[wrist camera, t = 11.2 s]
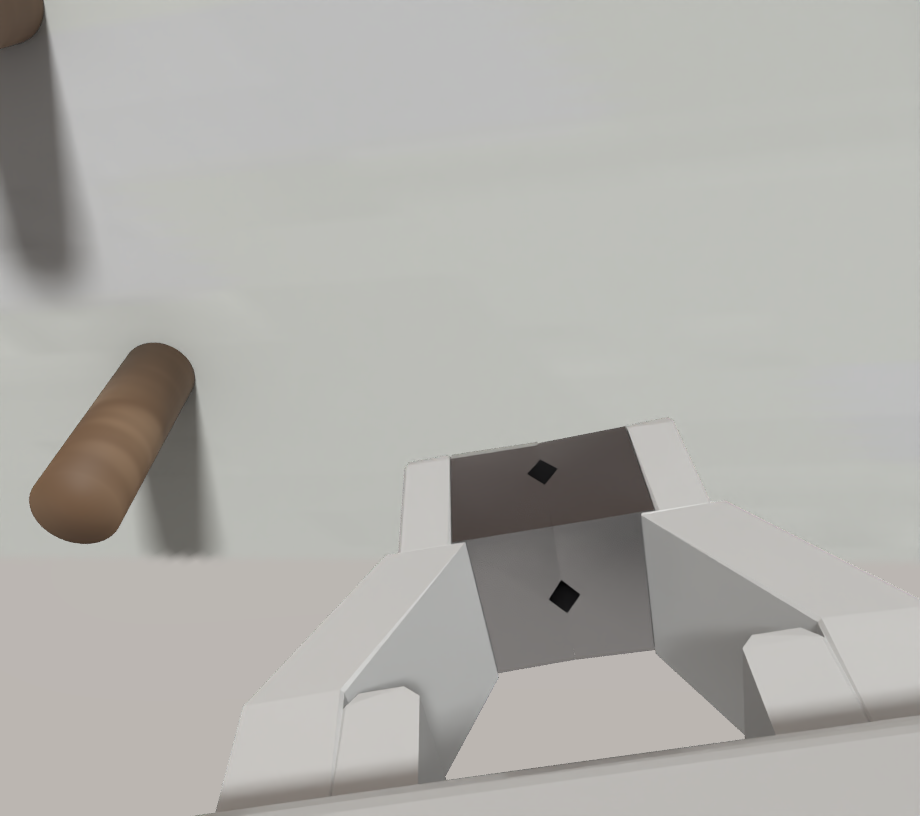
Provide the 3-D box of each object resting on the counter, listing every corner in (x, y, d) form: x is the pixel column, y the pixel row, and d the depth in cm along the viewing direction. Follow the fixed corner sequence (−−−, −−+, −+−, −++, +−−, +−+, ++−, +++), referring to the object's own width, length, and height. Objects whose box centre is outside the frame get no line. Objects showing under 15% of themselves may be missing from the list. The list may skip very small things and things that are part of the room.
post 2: (180, 337, 30) (99, 465, 23) (204, 397, 31) (135, 536, 24) (112, 349, 30) (13, 480, 23) (140, 409, 31) (53, 549, 24)
